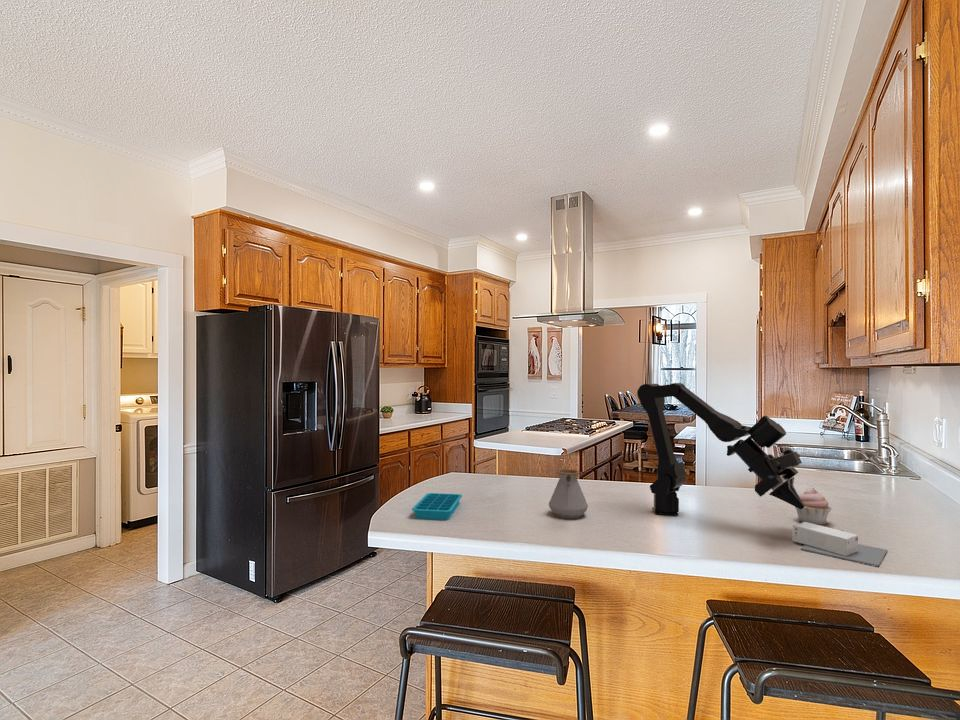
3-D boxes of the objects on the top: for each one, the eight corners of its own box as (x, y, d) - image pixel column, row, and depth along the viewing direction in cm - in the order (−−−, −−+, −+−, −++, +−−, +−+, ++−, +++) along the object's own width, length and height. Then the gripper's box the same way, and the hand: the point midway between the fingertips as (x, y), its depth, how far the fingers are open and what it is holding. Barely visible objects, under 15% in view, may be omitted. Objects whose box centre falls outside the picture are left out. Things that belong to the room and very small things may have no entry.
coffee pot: (549, 508, 160) (549, 460, 160) (587, 510, 158) (587, 461, 158) (546, 529, 139) (546, 474, 139) (590, 532, 137) (590, 475, 137)
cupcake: (818, 529, 141) (818, 492, 142) (786, 519, 150) (786, 485, 150) (839, 524, 145) (839, 489, 146) (806, 516, 154) (806, 482, 154)
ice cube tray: (410, 520, 148) (410, 509, 148) (427, 502, 168) (427, 492, 168) (450, 522, 146) (450, 511, 146) (462, 503, 166) (462, 494, 166)
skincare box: (791, 541, 130) (845, 558, 119) (792, 523, 130) (846, 539, 119) (804, 537, 133) (858, 553, 123) (805, 519, 133) (859, 534, 123)
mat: (800, 549, 125) (800, 548, 125) (814, 536, 135) (814, 535, 135) (878, 567, 114) (878, 565, 114) (887, 551, 124) (887, 549, 124)
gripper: (768, 443, 128) (820, 496, 120) (789, 436, 141) (837, 483, 133) (735, 470, 134) (782, 522, 126) (758, 461, 147) (802, 508, 139)
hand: (803, 508), depth 131 cm, fingers closed
